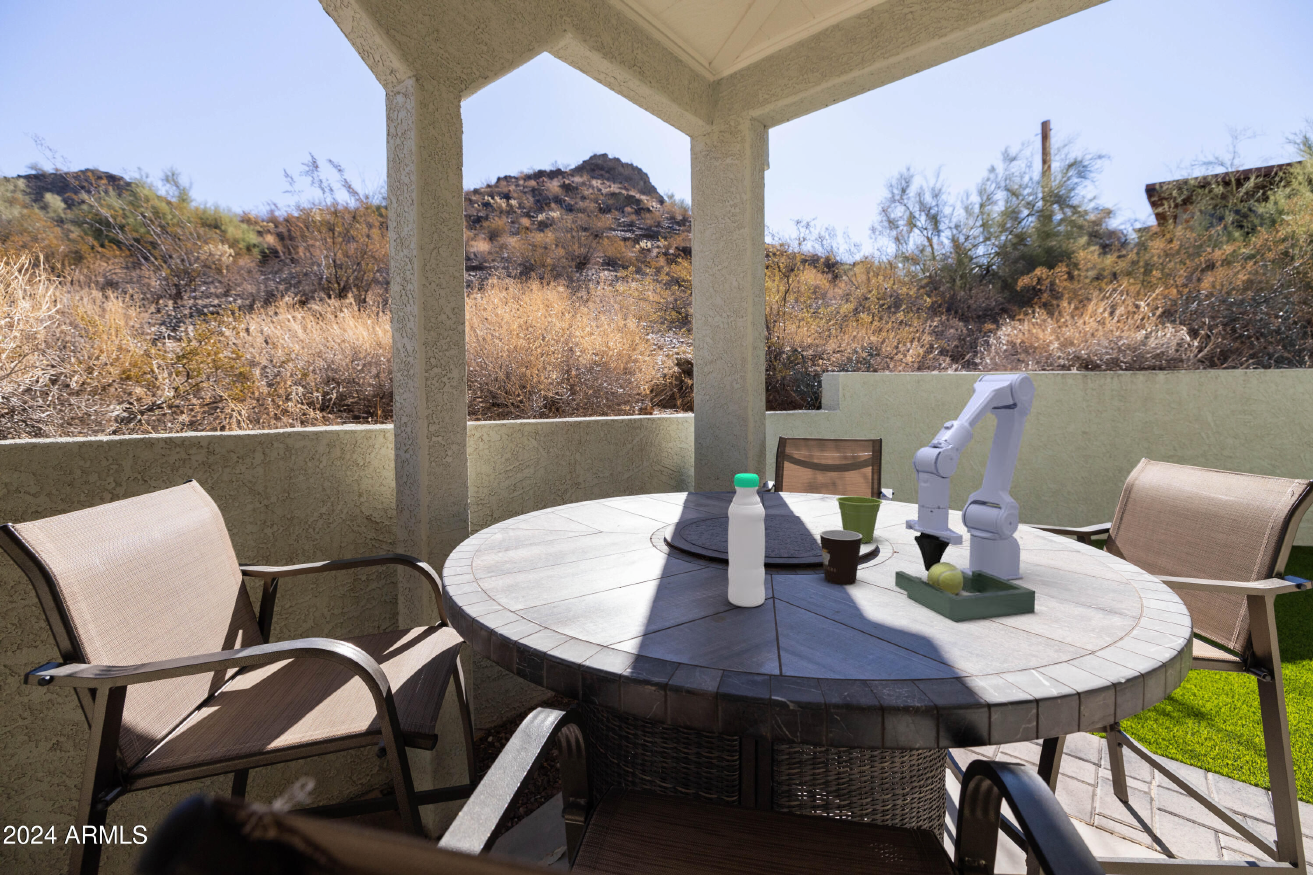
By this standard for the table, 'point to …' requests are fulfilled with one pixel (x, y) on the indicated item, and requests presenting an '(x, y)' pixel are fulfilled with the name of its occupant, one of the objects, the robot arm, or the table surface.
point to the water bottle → (746, 544)
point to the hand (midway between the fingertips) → (931, 570)
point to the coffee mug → (840, 555)
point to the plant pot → (859, 515)
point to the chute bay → (970, 596)
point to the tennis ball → (946, 577)
